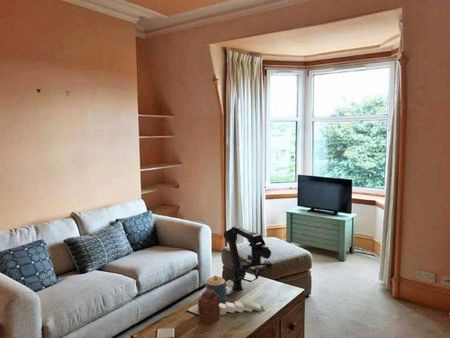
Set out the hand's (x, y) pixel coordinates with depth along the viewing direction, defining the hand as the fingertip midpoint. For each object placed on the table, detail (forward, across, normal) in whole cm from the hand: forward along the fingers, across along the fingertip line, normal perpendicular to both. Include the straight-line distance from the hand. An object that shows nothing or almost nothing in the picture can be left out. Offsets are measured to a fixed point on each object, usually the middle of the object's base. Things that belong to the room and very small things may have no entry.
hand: (256, 278), depth 214 cm
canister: (+13, +26, +2) cm, 29 cm away
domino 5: (+12, +1, +14) cm, 18 cm away
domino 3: (+12, +11, +14) cm, 21 cm away
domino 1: (+12, +21, +14) cm, 28 cm away
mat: (+13, +11, +14) cm, 22 cm away
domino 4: (+12, +6, +14) cm, 19 cm away
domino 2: (+12, +16, +14) cm, 24 cm away
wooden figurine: (+13, +31, +22) cm, 40 cm away
